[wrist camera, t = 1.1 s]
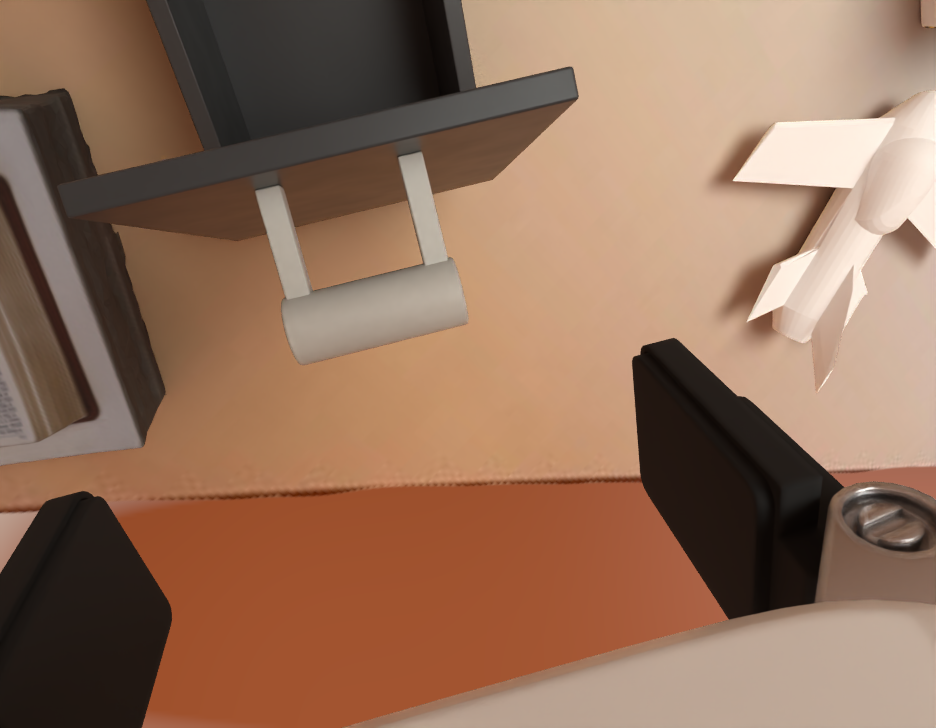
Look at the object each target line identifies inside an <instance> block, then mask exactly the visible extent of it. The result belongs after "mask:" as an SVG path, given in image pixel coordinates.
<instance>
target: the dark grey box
mask: <svg viewBox="0 0 936 728" xmlns="http://www.w3.org/2000/svg"><path fill="white" fill-rule="evenodd" d="M146 1H147V4H148V7H149V9H150V12H151V14H152V17H153V20H154V22H155V25H156V27H157V30H158V32H159V35H160V38H161V40H162V43H163V45H164V48H165V50H166V53H167V56H168V58H169V61H170V63H171V66H172V68H173V71H174V74H175V76H176V79H177V81H178V84H179V87H180V89H181V92H182V94H183V97H184V99H185V102H186V105H187V107H188V110H189V112H190V115H191V117H192V120H193V123H194V125H195V128H196V130H197V133H198V136H199V138H200V141H201V143H202V146H203V148H204V151H206V150H210V149H215V148H219V147H223V146H228V145H232V144H236V143H241V142H245V141H249V140H253V139H258V138H262V137H266V136H271V135H275V134H279V133H284V132H288V131H292V130H297V129H301V128H305V127H310V126H314V125H318V124H323V123H327V122H331V121H336V120H340V119H344V118H349V117H353V116H357V115H362V114H366V113H370V112H375V111H379V110H383V109H388V108H392V107H396V106H401V105H405V104H409V103H414V102H418V101H422V100H427V99H431V98H435V97H440V96H444V95H448V94H453V93H457V92H461V91H466V90H470V89H474V88H476V85H475V79H474V73H473V67H472V61H471V55H470V49H469V44H468V38H467V32H466V26H465V20H464V14H463V8H462V3H461V0H146Z"/></svg>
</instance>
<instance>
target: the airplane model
mask: <svg viewBox="0 0 936 728" xmlns="http://www.w3.org/2000/svg"><path fill="white" fill-rule="evenodd" d="M733 181H741V182H758V183H774V184H790V185H806V186H822V187H837V188H836V189H835V191H834V193H833V195H832V196H831V198H830V200H829V201H828V203H827V205H826V207H825V208H824V210H823V212H822V213H821V215H820V217H819V219H818V220H817V222H816V224H815V225H814V227H813V229H812V230H811V232H810V234H809V236H808V237H807V239H806V241H805V242H804V244H803V246H802V248H801V249H800V251H799V253H798V254H797V255H795V256H793V257H790V258H788V259H786V260H784V261H781V262H779V263H777V264H774V265H773V267H772V269H771V271H770V274H769V276H768V278H767V280H766V282H765V284H764V286H763V288H762V290H761V292H760V295H759V297H758V299H757V301H756V303H755V305H754V307H753V309H752V311H751V313H750V316H749V318H748V320H747V322H748V321H750V320H753V319H755V318H757V317H759V316H761V315H763V314H765V313H768V312H770V311H772V310H773V323H772V327H773V329H775V330H776V331H777V332H779V333H781V334H782V335H784V336H786V337H788V338H790V339H792V340H795V341H797V342H800V343H806V342H807V341H808V340H809V339H811V341H812V352H813V363H814V375H815V386H816V394H817V392H818V391H819V390H820V388H821V387H822V386H823V384H824V383H825V382H826V380H827V379H828V377H829V375H830V373H831V372H832V370H833V368H834V366H835V362H836V358H837V354H838V349H839V345H840V341H841V337H842V333H843V329H844V328H845V326H846V324H847V323H848V321H849V319H850V317H851V316H852V314H853V312H854V311H855V309H856V307H857V306H858V304H859V302H860V300H861V299H862V297H863V296H864V295H866V294H868V292H867V289H866V286H865V283H864V279H863V276H862V273H861V269H862V268H863V266H864V265H865V263H866V262H867V260H868V258H869V257H870V255H871V254H872V252H873V251H874V249H875V247H876V246H877V244H878V243H879V241H880V239H881V238H882V236H883V235H884V234H888V233H890V232H893V231H895V230H897V229H898V228H899V227H900V226H901V225H902V224H903V223H904V221H905V220H906V219H907V218H908V219H909V220H910V221H911V222H912V223H913V224H914V226H915V227H916V228H917V229H918V230H919V231H920V232H921V233H922V234H923V235H924V236H925V238H926V239H927V240H928V241H929V242H930V243H931V244H932V245H933V246H934V247H935V249H936V90H930V91H923V92H919V93H917V94H915V95H914V96H912V97H911V98H909V99H907V100H906V101H904V102H903V103H901V104H900V105H898V106H897V107H895V108H894V109H892V110H890V111H889V112H887V113H886V114H884V115H883V116H881V117H880V118H874V119H849V120H823V121H798V122H776V123H774V124H773V125H772V126H770V127H769V129H768V130H767V132H766V133H765V135H764V136H763V137H762V139H761V140H760V142H759V143H758V145H757V146H756V148H755V149H754V150H753V152H752V153H751V155H750V156H749V158H748V159H747V161H746V162H745V163H744V165H743V166H742V168H741V169H740V171H739V172H738V174H737V175H736V176H735V178H734V179H733Z"/></svg>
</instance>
